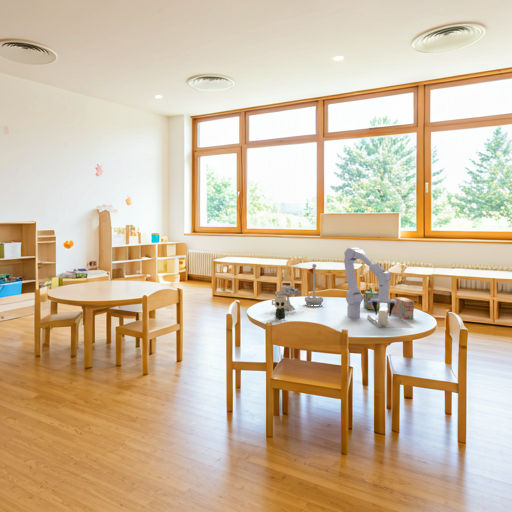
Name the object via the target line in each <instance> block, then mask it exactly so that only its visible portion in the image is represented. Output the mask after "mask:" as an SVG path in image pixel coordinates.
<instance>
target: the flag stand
mask: <svg viewBox="0 0 512 512" xmlns="http://www.w3.org/2000/svg"><path fill="white" fill-rule="evenodd" d="M316 268H317V264H316V263H313V264H312V268H310V269H308V270H307V272H309V273H311V274H312V297H311V296H309V295H308V296H305V297H304V302H305V304H307V305H313V306H312V307H315V306H314V305H321V304H322V303H323V302H324V297H322V296H318V297H317V296H316ZM307 305H306V306H307ZM321 306H322V305H321Z"/></svg>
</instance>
